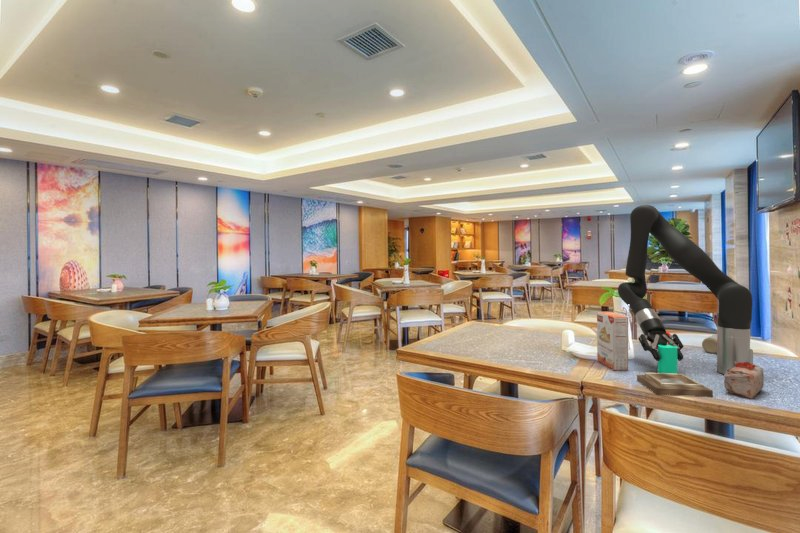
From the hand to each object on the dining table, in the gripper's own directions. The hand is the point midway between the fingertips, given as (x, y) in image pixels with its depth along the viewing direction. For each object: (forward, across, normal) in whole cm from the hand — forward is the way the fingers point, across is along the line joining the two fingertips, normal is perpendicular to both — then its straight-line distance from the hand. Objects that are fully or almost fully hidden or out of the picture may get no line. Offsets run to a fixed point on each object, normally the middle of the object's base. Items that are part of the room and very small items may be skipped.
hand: (670, 359), depth 142 cm
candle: (+3, 0, +5) cm, 6 cm away
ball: (-24, +25, +32) cm, 47 cm away
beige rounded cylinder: (-17, +44, +26) cm, 53 cm away
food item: (+17, +11, -8) cm, 22 cm away
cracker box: (-5, -14, +14) cm, 20 cm away
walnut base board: (+13, -9, -5) cm, 17 cm away
